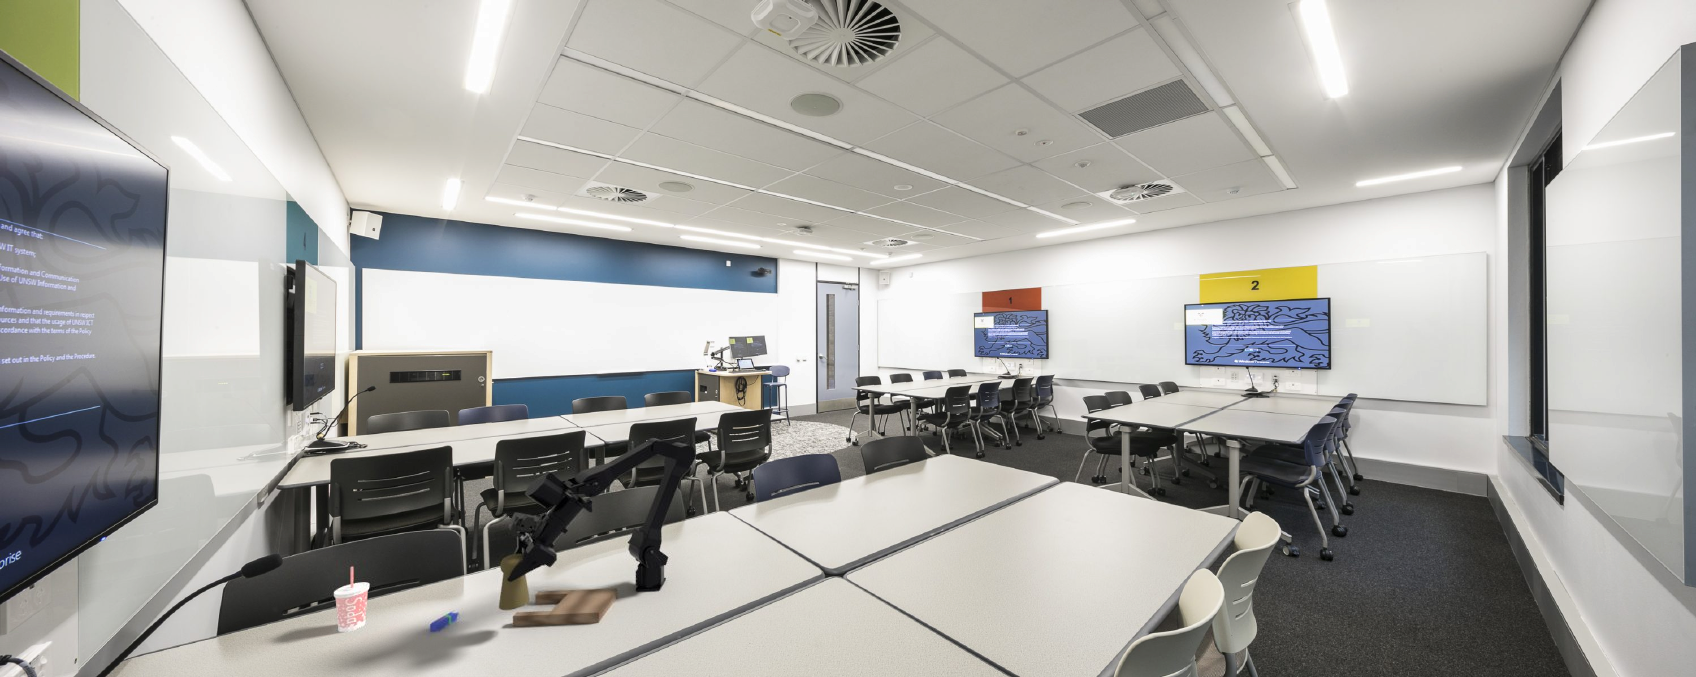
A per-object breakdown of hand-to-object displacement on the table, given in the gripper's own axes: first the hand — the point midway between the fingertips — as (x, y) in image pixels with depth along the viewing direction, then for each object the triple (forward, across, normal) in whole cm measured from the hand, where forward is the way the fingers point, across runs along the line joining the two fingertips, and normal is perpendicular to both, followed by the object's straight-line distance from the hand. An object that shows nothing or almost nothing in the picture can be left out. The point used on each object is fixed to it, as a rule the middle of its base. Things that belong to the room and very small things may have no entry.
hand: (507, 576), depth 120 cm
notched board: (0, -2, +18) cm, 18 cm away
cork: (+4, 0, +6) cm, 7 cm away
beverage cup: (+29, -26, -11) cm, 40 cm away
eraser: (+17, -14, +1) cm, 22 cm away
